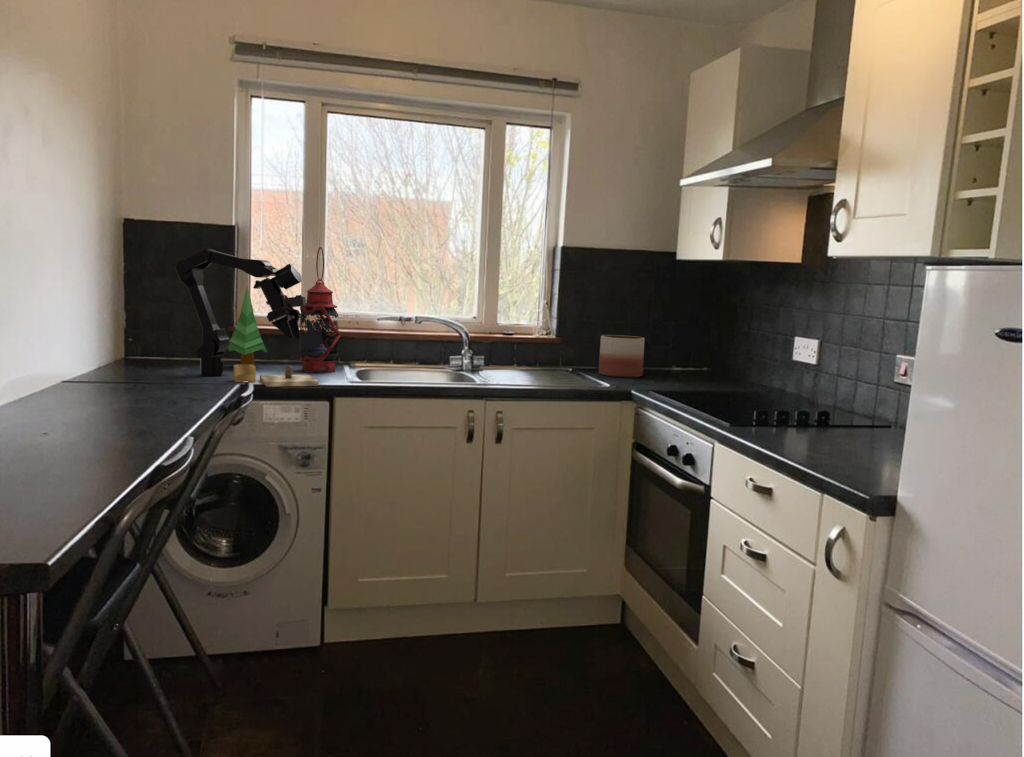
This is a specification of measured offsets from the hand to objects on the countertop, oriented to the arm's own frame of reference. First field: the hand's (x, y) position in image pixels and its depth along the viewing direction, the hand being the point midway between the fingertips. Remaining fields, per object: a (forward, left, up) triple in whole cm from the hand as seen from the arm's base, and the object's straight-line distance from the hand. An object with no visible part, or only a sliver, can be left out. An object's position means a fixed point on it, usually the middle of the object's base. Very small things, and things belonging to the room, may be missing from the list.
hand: (295, 338), depth 253 cm
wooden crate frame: (-16, 0, -14) cm, 21 cm away
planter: (+129, +1, -14) cm, 130 cm away
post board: (-3, -5, -14) cm, 15 cm away
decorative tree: (-11, +36, -14) cm, 40 cm away
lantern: (+13, +25, -14) cm, 32 cm away
